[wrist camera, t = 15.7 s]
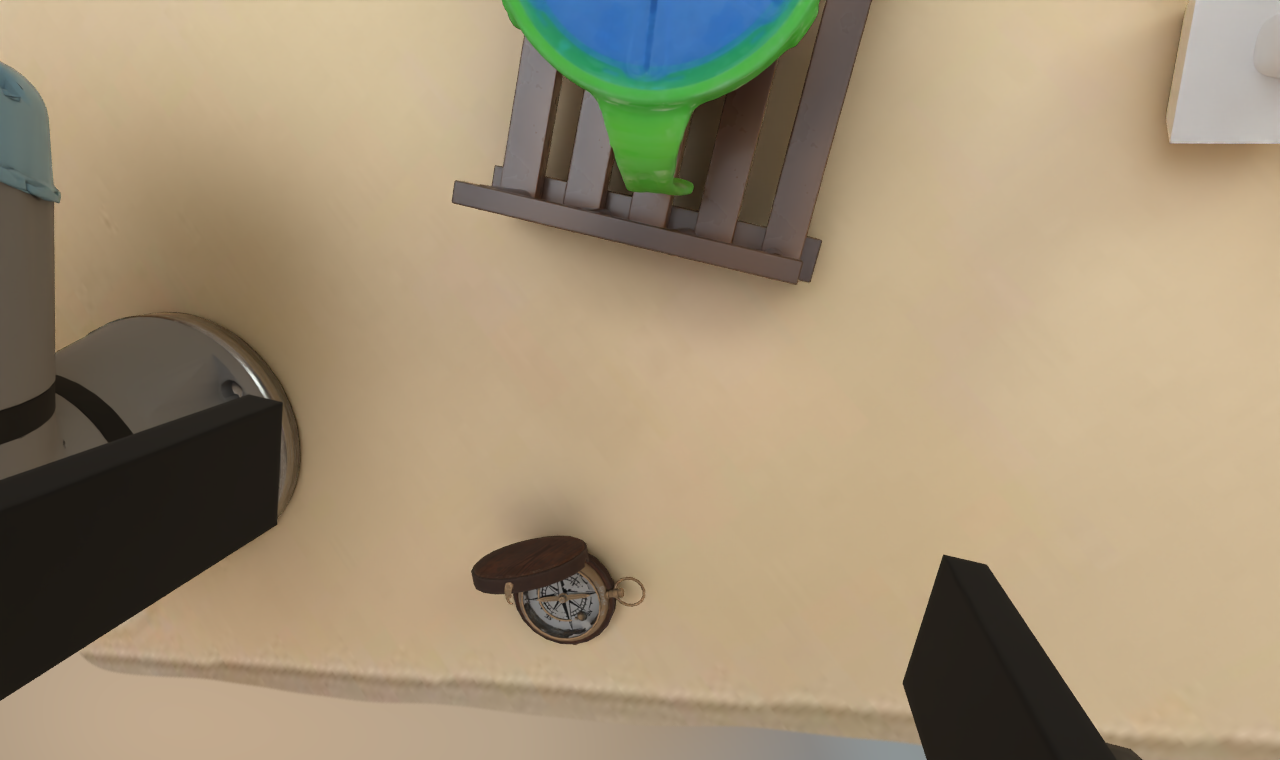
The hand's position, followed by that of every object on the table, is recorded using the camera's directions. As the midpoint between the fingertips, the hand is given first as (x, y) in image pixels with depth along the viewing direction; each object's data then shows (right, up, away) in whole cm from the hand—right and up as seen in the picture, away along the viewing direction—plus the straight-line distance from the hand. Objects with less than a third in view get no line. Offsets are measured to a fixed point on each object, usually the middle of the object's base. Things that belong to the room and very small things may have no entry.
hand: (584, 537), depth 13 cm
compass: (-2, -9, +28) cm, 29 cm away
